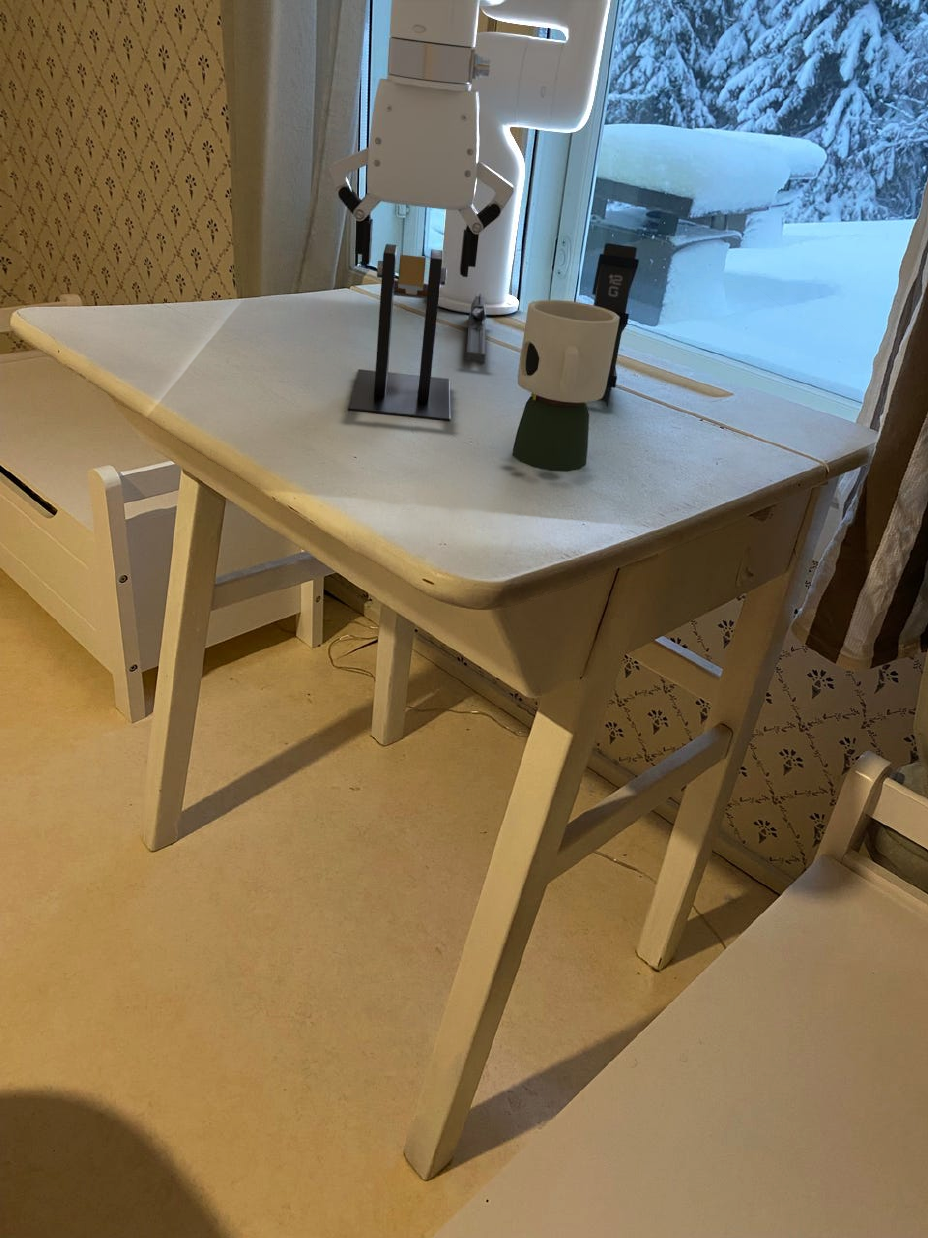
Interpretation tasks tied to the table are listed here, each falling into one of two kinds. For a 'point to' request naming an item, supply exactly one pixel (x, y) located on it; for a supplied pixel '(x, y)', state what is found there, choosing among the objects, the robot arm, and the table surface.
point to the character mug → (562, 380)
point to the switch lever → (411, 278)
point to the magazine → (615, 293)
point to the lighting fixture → (476, 332)
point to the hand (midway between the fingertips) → (415, 268)
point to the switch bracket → (381, 386)
